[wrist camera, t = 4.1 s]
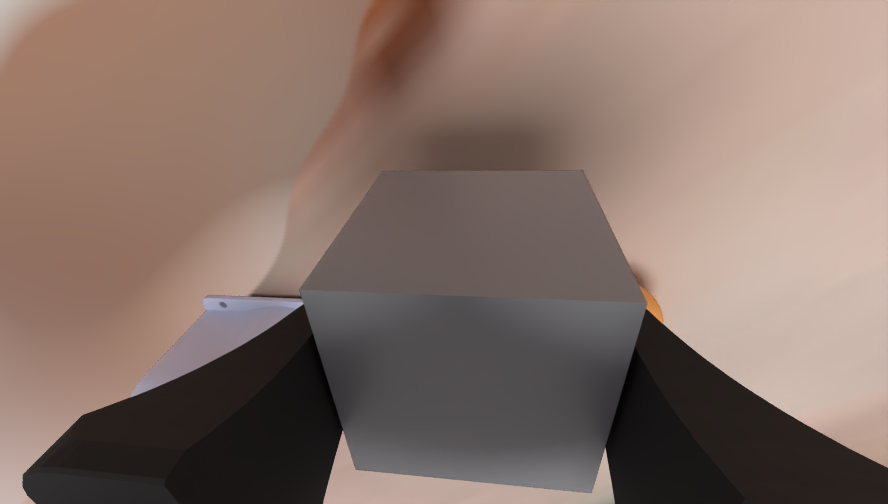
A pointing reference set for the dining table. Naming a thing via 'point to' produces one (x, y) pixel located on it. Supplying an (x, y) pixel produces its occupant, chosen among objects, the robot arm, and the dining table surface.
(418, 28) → the dining table surface
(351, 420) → the grey cube
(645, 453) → the robot arm
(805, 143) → the dining table surface
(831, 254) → the dining table surface
